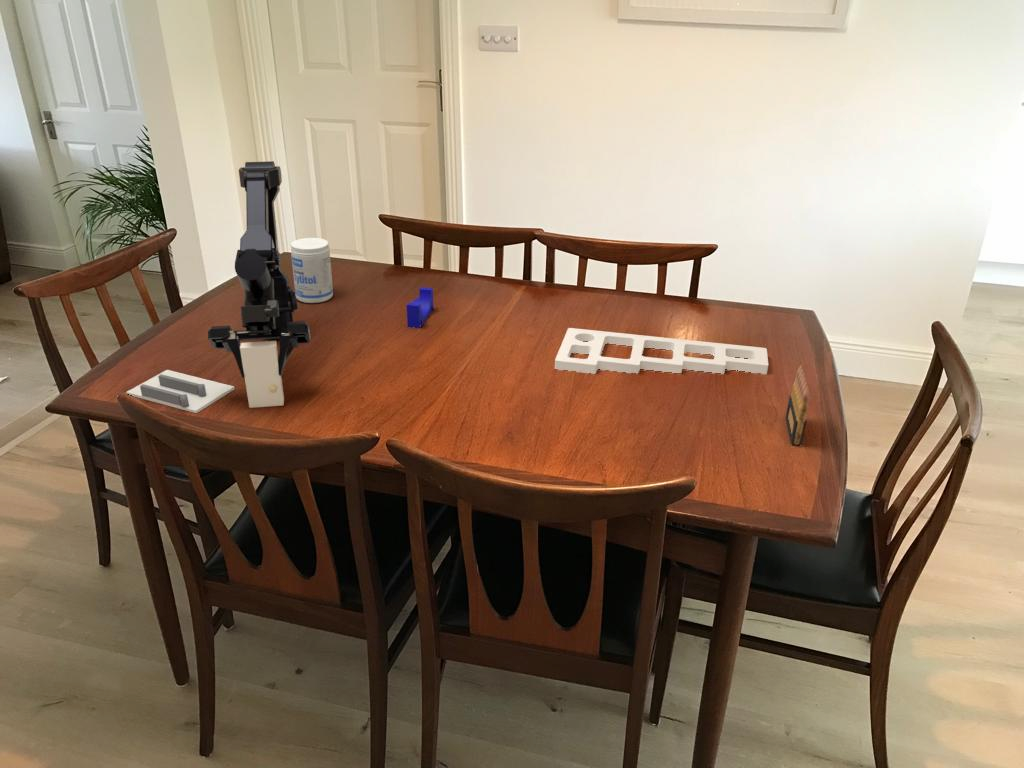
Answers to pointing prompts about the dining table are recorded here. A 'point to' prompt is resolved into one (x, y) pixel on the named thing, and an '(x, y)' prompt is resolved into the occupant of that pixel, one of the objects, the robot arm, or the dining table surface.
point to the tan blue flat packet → (797, 408)
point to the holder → (595, 361)
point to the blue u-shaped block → (420, 308)
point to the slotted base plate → (181, 391)
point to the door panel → (262, 374)
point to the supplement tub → (312, 270)
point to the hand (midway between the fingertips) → (261, 376)
